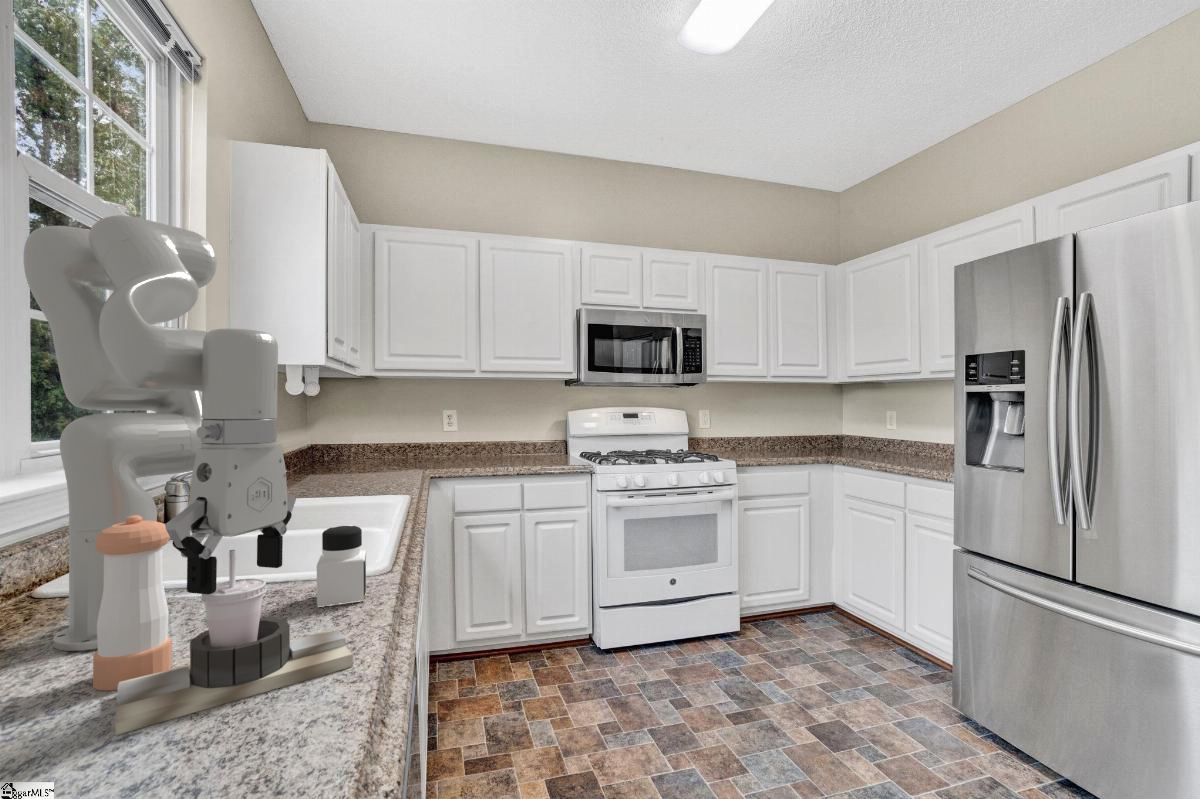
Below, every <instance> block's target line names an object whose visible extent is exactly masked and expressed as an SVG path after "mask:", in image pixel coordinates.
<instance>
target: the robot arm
mask: <svg viewBox="0 0 1200 799" xmlns="http://www.w3.org/2000/svg"><path fill="white" fill-rule="evenodd" d="M217 264H218V262H217V255H216V252H215V250H214V247H213V246H212V244H211V243H210V242H209V241H208V240H207V238H206V237H204V236H203V235H201V234H199V233H198V232H195V231H192V230H189V229H185V228H181V227H177V226H173V225H169V224H166V223H165V224H164V223H161V222H157V221H153V220H150V219H146V218H142V217H136V216H130V215H111V216H106V217H103V218H101V219H100V220H98V221H96V222H95V223H94V224H93V225H92V226H91V228H90V229H88V228H82V227H74V226H65V225H48V226H42V227H39V228H36V229H34V230H33V231H32V232H30V234H29V235H28V236H27V238H26V240H25V244H24V247H23V269H24V274H25V278H26V282H27V285H28V287H29V290H30V292H31V295H32V296H33V298H34V299H35V302H36V304H37V305H38V307H39V309H40V310H41V312H42V314H43V315H44V318H45V319H46V320H47V321H46V322H48V323H47V324H48V325H49V328H50V331H51V335H52V340H53V346H54V347H53V348H54V351H55V352H54V353H55V357H56V362H57V367H58V372H59V375H60V382H61V385H62V389H63V392H64V394H65V396H66V399H67V401H69V402H70V403H71V404H72V405H73V406H74V407H76V408H78V409H84V410H89V411H102V412H103V411H105V412H106V411H107V412H108V411H109V413H95V414H90V415H85V416H82V417H79V418H77V419H75V420H73V421H70V423H69V424H67V425H66V426H65V427H64V429H63V430H62V432H61V435H60V439H59V452H60V458H61V462H62V466H63V471H64V475H65V480H66V486H67V487H66V488H67V495H68V496H67V497H68V499H67V500H68V547H69V548H68V606H66V607H65V609H64V614H65V615H67V616H68V627H66V628H64V629H62V630H60V631H59V632H58V633H56V634H55V635H54V636H53V637H52V638H53V639H52V640H53V642H52V643H53V644H52V645H54V646H53V648H54V649H56V650H59V649H60V651H63V650H64V651H65V652H66V651H67V652H76V651H77V652H79V651H92V650H98V643H97V621H98V616H99V611H100V606H101V601H102V596H103V591H104V554H101V553H99V552H98V551H97V549H96V547H95V541H96V538H97V536H98V535H99V534H100V532H101V531H102V530H105V529H107V528H109V527H111V526H113V525H116V524H120V523H126V522H125V520H126V518H127V517H129V516H134V515H138V516H141V517H142V521H147V520H149V521H156V522H158V510H157V506H156V503H155V501H154V498H153V497H152V496H151V495H150V494H149V493H148V492H147V491H146V490H145V489H144V488H143V487H142V486H141V485H140V484H139V483H138V481H137V479H139V478H140V479H141V478H146V477H152V476H164V475H173V474H174V475H175V474H183V473H190V472H192V474H191V480H190V487H189V496H188V497H189V498H188V506H187V507H186V508H184V509H183V510H182V511H181V512H179V513H178V514H177V515H175V516H174V517H173V518H172V519H170V520H169V521H167V523H165V525H166V526H165V528H166V531H167V532H168V534H169V536H170V540H171V541H172V542H171V544H172V546H173V548H175V550H178V551H179V552H180V555H181V557H182V558H185V559H187V560H186V561H187V562H186V563H187V564H186V591H187V593H189V594H196V595H197V594H198V595H200V594H201V595H202V594H212V593H214V592H215V591H216V584H217V577H218V576H217V572H218V570H217V569H218V566H217V565H218V558H217V556H214V555H212V554H213V553H214V552H215V550H216V548H217V546H218V545H219V543H220V542H221V541H222V538H223V537H224V538H225V537H226V538H227V537H228V538H232V537H236V536H240V535H245V534H248V533H252V532H256V531H258V530H259V531H260V532H261V534H258V535H257V540H256V565H257V566H258V567H259V568H267V569H268V568H272V569H278V568H281V567H282V566H283V545H284V544H283V543H284V540H283V536H284V535H285V534H286V533H287V531H288V528H287V525H288V523H289V522H290V520H291V519H292V516H293V513H292V512H293V510H294V507H295V504H296V502H297V498H296V496H295V495H293V494H291V493H290V492H288V486H287V470H286V465H285V464H286V462H285V459H284V452H283V449H282V448H283V447H282V446H281V443H278V442H277V439H278V438H277V435H278V434H277V432H278V431H277V430H278V426H277V425H278V370H279V369H278V368H279V366H278V365H279V346H278V342H277V339H276V338H275V337H274V336H273V335H272V334H270V333H268V332H265V331H260V330H253V329H245V328H215V329H212V330H210V331H205V330H198V329H190V328H188V329H187V328H180V327H171V326H161V325H159V324H162V323H166V322H169V321H173V320H176V319H178V318H180V317H182V316H184V315H185V314H187V313H188V312H190V311H191V309H193V307H194V306H195V304H196V303H197V300H198V298H199V289H201V288H204V287H206V285H208V284H210V282H211V281H212V279H214V276H215V274H216V270H217V266H218V265H217ZM92 288H94V289H101V290H106V291H113V292H112V293H111V294H110V295H109V297H108V298H107V299H106V300H105V299H103V297H101V296H99V295H98V294H97V293H96V292H95V291H94V290H93V289H92ZM111 411H112V412H111ZM113 411H117V412H113ZM119 411H121V412H119ZM123 411H145V412H123ZM146 411H152V412H146ZM205 538H206V539H205ZM204 539H205V541H204ZM203 541H204V542H203ZM202 542H203V543H202ZM170 623H171V614H170V613H169V614H168V625H169V624H170Z"/></svg>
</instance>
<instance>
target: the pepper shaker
mask: <svg viewBox="0 0 1200 799" xmlns="http://www.w3.org/2000/svg"><path fill="white" fill-rule="evenodd" d="M125 522H126V523H120V524H116V525H113V526H111V527H109V528H107V529H105V530H102V531H101V532H100V534H99V535H98V536H97V538H96V541H95V547H96V549H97V551H98V552H99V553H101V554H104V591H103V596H102V601H101V606H100V611H99V616H98V621H97V643H98V649H97V650H96V651H95V652H94V654H93V657H92V658H93V659H92V661H93V662H92V663H93V664H92V687H93V689H95V690H97V691H105V692H106V691H117V690H118V684H119V682H121V681H126V680H130V679H134V678H138V677H142V676H146V675H150V674H154V673H158V672H162V671H166V670H170V669H172V668H171V667H173V657H172V656H173V654H172V653H173V652H172V651H173V644H172V643H173V641H172V637H171V636H170V635H169V624H168V614H170V613H169V607H168V602H167V597H166V592H165V591H166V590H165V587H164V583H163V582H164V581H163V580H164V579H163V578H164V577H163V567H164V566H163V547H164V546H165V545H167V544H168V543H169V541H170V540H171V538H170V536H169V534H168V532H167V531H166V528H165V526H166V523H163V522H160V521H157V522H156V521H149V520H147V521H142V517H141V516H138V515H134V516H129V517H127V518H126V520H125Z"/></svg>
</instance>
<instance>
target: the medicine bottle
mask: <svg viewBox="0 0 1200 799" xmlns="http://www.w3.org/2000/svg"><path fill="white" fill-rule="evenodd" d="M362 532H363V529H362V528H361V527H360V526H357V525H351V524H348V525H337V526H332V527H329V528H327V529H325V530H324V531H323V532H322V534H321V539H322V540H321V541H322V543H321V545H322V546H321V547H322V548H321V550H322V551H321V552H322V554H320V557H319V558H318V561H317V564H316V607H317V606H323V605H330V604H338V603H345V602H351V601H359V600H364V599H365V600H366V595H365V593H366V594H367V567H366V566H367V561H366V560H367V552H366V550H365V549H363V546H362V544H363V541H362V539H363V538H362V537H363V535H362Z"/></svg>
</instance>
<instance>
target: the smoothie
mask: <svg viewBox="0 0 1200 799" xmlns="http://www.w3.org/2000/svg"><path fill="white" fill-rule="evenodd" d="M228 556H229V557H228V558H229V560H228V561H229V564H228V565H229V567H228V569H229V576H228V577H229V580H227V581H223V582H220V583H216V591H215V592H214V593H212V594H201V599H200V602H201V603H202V604H204V608H205V615H206V620H207V630H209V636H210V642H211V647H228V646H237V645H241V644H245V643H250V642H254V641H257V635H258V628H259V621H260V618H261V612H262V605H263V595H264V594H265V593H266V592H267V582H266V580H264V579H262V578H241V579H236V550H235V549H230V550H229V552H228Z"/></svg>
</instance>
